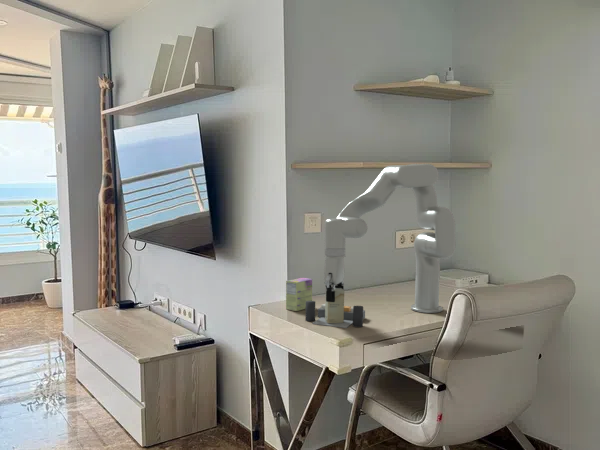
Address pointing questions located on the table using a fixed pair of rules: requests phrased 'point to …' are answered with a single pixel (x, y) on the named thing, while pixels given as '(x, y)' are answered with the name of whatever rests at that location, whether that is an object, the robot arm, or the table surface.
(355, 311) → the dark grey capsule
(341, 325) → the grey button panel
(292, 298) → the box
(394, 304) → the table surface
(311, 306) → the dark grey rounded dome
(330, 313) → the skincare box
